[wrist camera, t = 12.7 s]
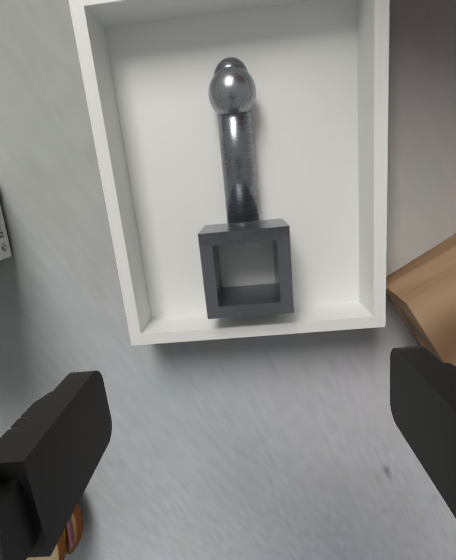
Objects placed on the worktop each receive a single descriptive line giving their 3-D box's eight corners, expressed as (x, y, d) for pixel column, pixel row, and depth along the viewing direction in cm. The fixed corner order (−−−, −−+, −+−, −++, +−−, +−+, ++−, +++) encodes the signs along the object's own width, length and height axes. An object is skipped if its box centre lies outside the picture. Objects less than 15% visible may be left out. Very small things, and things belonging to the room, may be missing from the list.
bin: (366, 307, 29) (385, 326, 25) (146, 324, 30) (131, 345, 26) (366, -17, 23) (390, -55, 19) (94, 20, 24) (66, -9, 21)
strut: (273, 57, 24) (279, 32, 20) (286, 292, 28) (293, 312, 24) (187, 68, 24) (175, 45, 20) (213, 298, 28) (207, 319, 24)
